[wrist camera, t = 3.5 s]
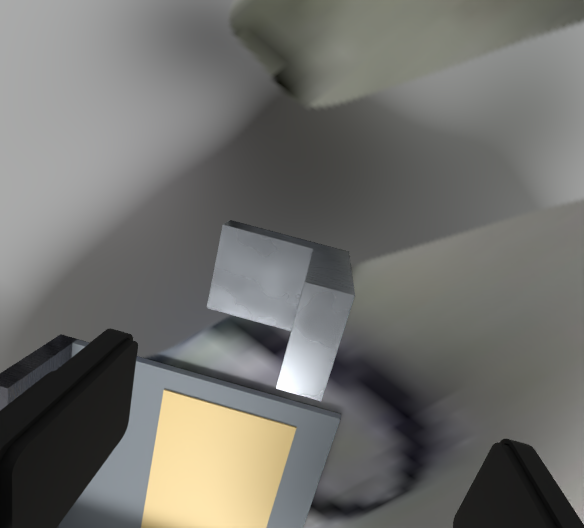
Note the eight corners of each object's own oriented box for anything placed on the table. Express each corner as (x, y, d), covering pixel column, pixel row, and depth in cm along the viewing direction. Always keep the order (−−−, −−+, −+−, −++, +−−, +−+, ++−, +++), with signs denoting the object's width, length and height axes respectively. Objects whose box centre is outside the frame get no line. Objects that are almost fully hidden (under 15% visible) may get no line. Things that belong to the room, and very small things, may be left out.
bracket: (348, 251, 21) (354, 295, 14) (325, 328, 22) (321, 401, 16) (230, 220, 21) (182, 248, 15) (214, 298, 23) (164, 357, 16)
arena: (340, 413, 24) (341, 486, 19) (273, 608, 30) (260, 705, 24) (60, 334, 25) (-14, 382, 19) (47, 538, 30) (-13, 618, 25)
